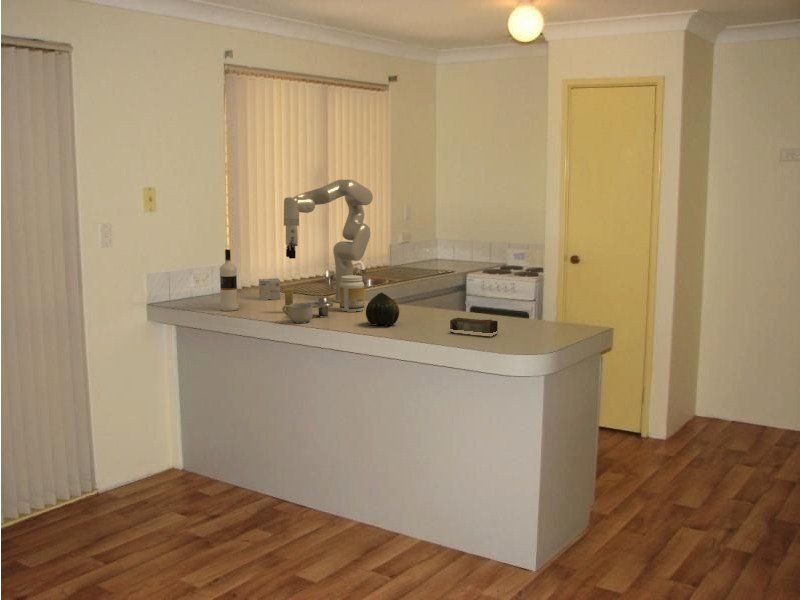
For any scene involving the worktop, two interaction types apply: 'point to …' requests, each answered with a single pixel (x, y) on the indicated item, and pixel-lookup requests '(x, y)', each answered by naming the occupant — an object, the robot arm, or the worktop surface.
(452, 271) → the worktop surface
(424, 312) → the worktop surface
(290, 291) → the wedge pin
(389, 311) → the squash
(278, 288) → the light bulb box
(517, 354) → the worktop surface
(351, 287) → the supplement tub
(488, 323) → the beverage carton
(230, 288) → the vodka
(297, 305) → the teacup
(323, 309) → the grey knob latch
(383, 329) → the worktop surface
